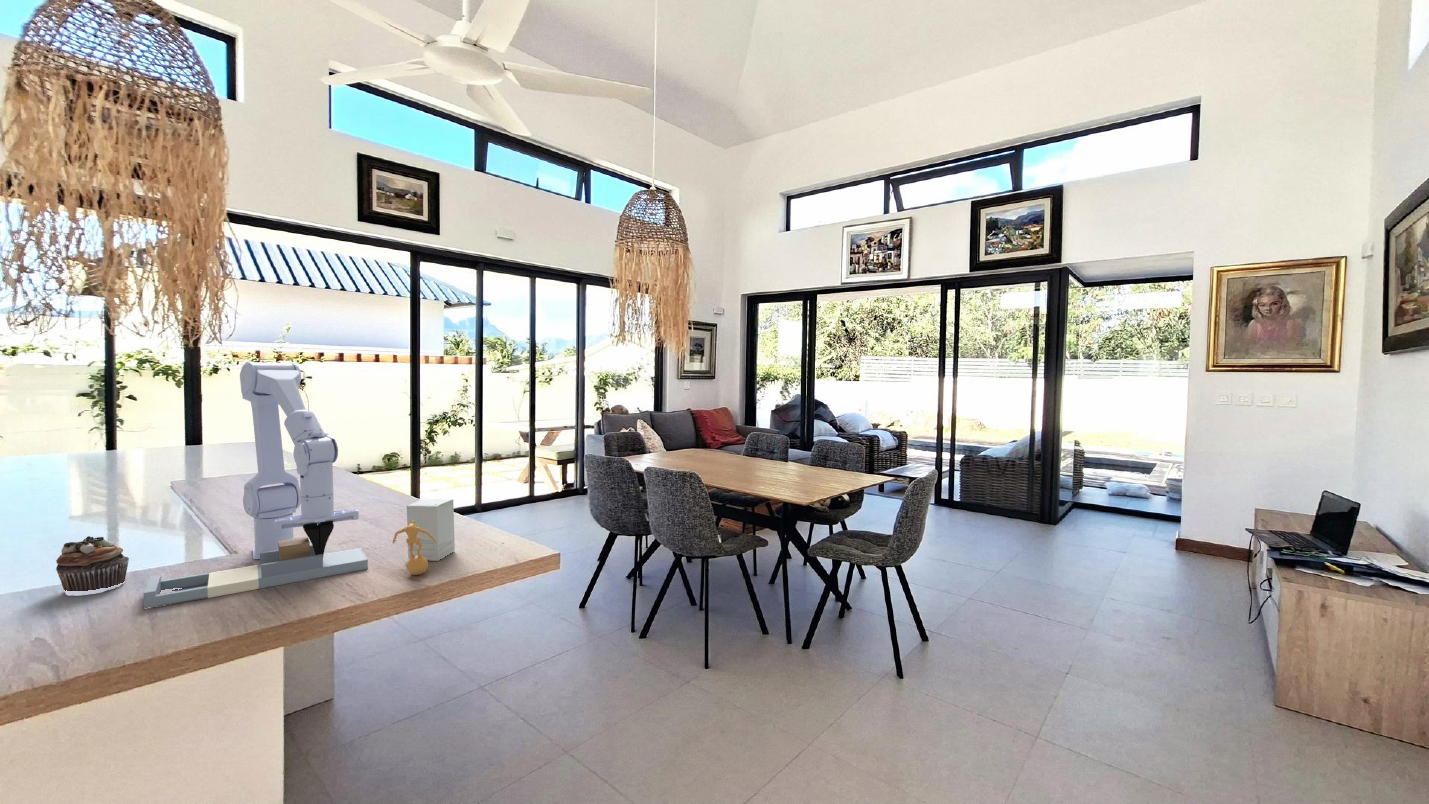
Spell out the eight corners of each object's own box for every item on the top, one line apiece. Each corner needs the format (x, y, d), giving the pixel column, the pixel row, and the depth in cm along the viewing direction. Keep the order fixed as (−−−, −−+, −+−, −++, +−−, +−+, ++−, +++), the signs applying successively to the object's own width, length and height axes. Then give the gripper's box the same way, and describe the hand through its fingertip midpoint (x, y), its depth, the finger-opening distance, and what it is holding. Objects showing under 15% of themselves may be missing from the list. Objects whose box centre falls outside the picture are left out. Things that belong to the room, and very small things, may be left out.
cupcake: (103, 596, 109) (101, 544, 108) (41, 600, 107) (38, 546, 106) (143, 578, 118) (141, 529, 117) (87, 581, 116) (84, 531, 116)
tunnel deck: (150, 592, 111) (149, 569, 111) (360, 556, 133) (359, 537, 132) (144, 609, 103) (143, 584, 103) (367, 568, 125) (367, 548, 125)
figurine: (441, 570, 125) (440, 515, 124) (431, 580, 119) (430, 522, 118) (400, 571, 123) (399, 516, 123) (388, 582, 117) (387, 523, 117)
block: (278, 564, 121) (278, 541, 121) (308, 559, 124) (307, 536, 124) (280, 571, 117) (279, 546, 117) (310, 565, 120) (309, 542, 120)
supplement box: (455, 551, 137) (455, 498, 137) (437, 561, 130) (436, 506, 129) (426, 550, 138) (425, 497, 137) (406, 560, 131) (405, 504, 130)
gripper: (275, 502, 115) (277, 570, 116) (360, 493, 124) (361, 555, 125) (273, 496, 120) (275, 560, 121) (354, 487, 130) (356, 547, 130)
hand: (319, 557), depth 124 cm, fingers closed
